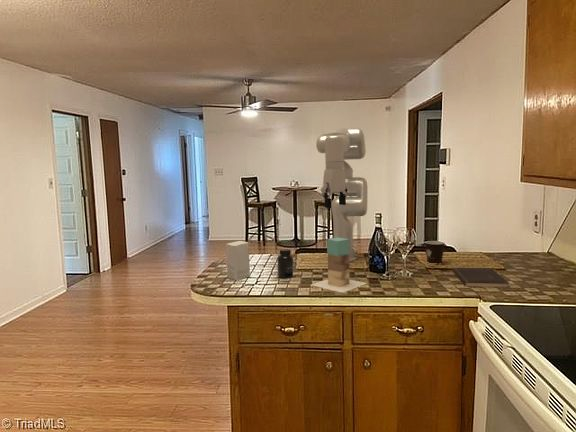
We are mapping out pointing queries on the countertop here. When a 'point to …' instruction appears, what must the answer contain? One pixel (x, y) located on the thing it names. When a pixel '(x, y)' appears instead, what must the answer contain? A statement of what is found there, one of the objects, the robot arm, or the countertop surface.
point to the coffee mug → (434, 251)
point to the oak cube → (338, 278)
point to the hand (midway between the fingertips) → (335, 206)
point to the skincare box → (238, 260)
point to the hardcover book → (480, 277)
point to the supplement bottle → (285, 264)
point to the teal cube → (337, 246)
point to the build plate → (342, 289)
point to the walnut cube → (338, 263)
